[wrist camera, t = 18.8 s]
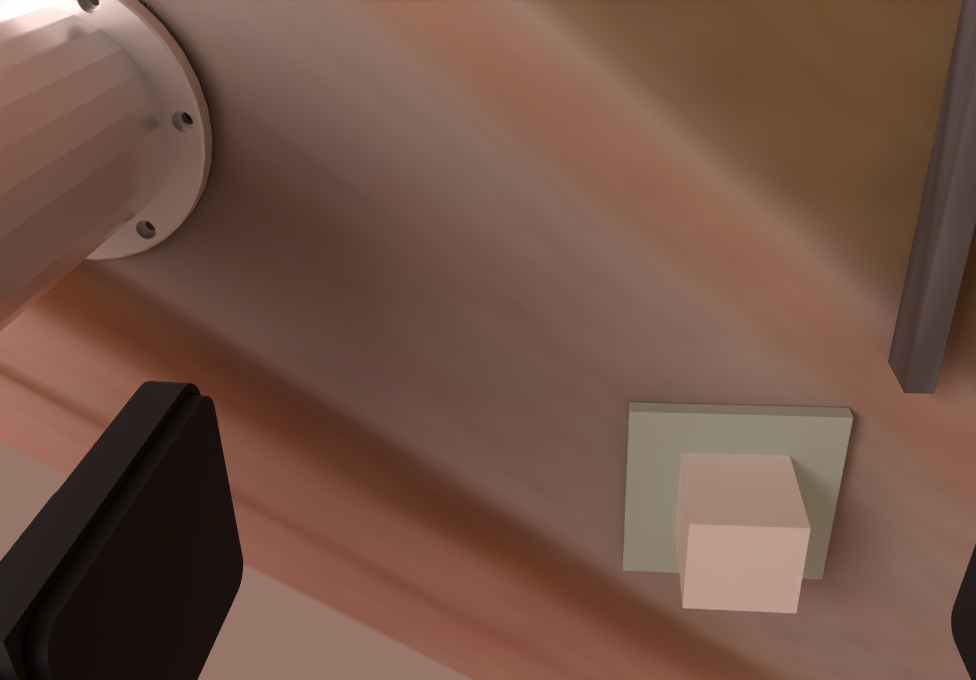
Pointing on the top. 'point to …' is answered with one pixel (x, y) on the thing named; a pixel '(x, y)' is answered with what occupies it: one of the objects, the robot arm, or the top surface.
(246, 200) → the top surface
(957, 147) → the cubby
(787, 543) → the blank block
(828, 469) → the mat
